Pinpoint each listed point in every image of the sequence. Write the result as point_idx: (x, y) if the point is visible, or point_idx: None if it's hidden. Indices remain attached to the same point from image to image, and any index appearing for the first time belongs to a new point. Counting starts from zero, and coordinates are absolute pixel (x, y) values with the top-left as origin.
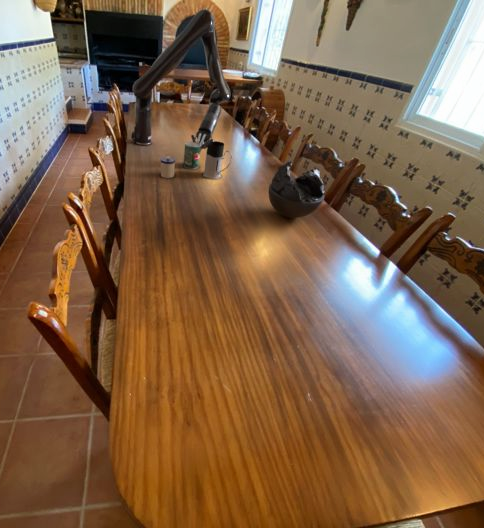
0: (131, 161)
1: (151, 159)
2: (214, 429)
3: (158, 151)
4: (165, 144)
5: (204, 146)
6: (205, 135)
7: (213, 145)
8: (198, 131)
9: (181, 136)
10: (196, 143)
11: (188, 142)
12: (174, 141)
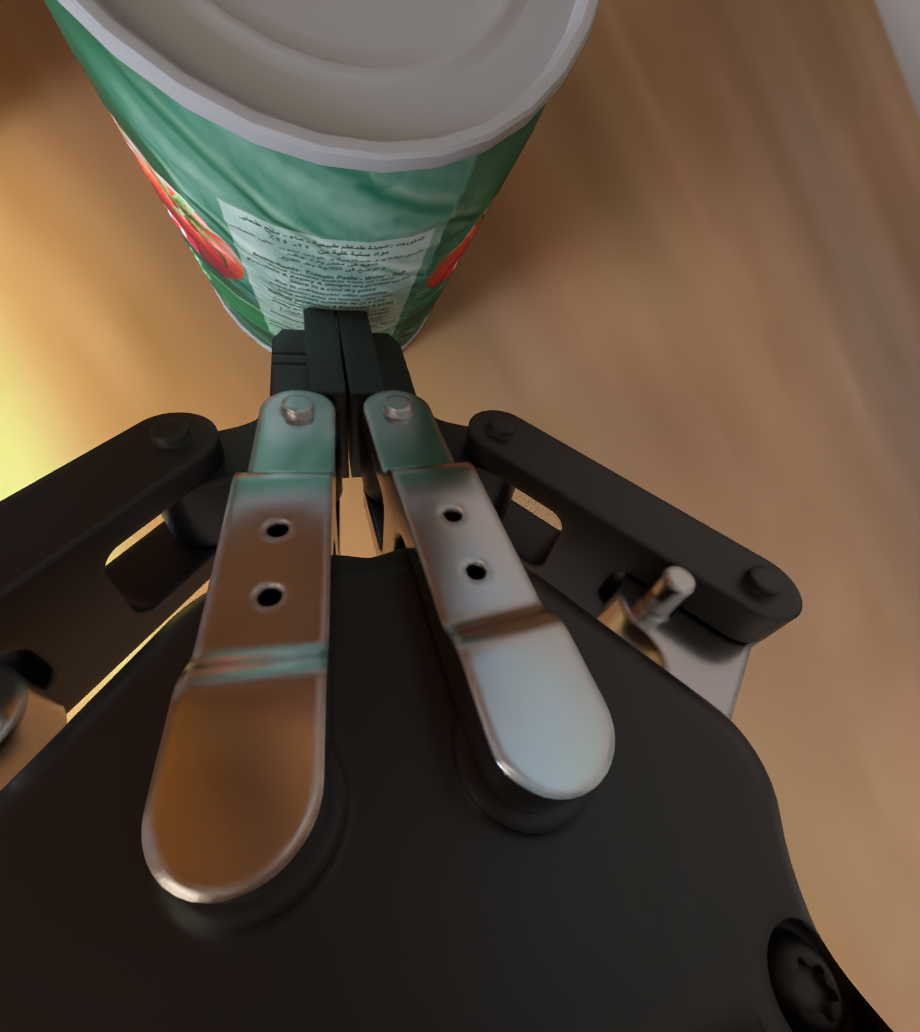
0: (884, 33)
1: (785, 205)
2: None
3: (837, 475)
4: (875, 702)
5: (144, 438)
6: (170, 789)
7: None
8: (777, 887)
9: None
10: (306, 94)
11: (574, 20)
12: (856, 846)
